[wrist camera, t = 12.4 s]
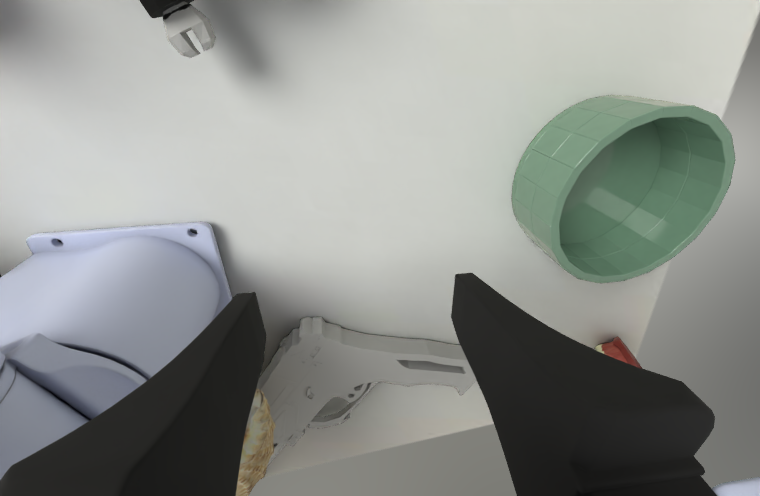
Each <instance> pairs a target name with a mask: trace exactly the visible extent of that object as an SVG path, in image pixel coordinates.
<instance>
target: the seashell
mask: <svg viewBox="0 0 760 496" xmlns="http://www.w3.org/2000/svg"><path fill="white" fill-rule="evenodd" d="M275 427H276V425H275V422H274V421H273V419H272V417H271V415H270V406H269V404H268V403H267V399H266V398H265V396H264V393H263V391H261V390H259V389H258V388H256V392H255V395H254V399H253V403H252V407H251V411H250V414H249V418H248V422H247V427H246V431H245V436H244V442H243V449H242V455H241V461H240V468H239V475H238V482H237V490H236V496H248V495H249V494H250V492H251V490H252V488H253V487H254V486H255V484H256V483H257V482H258V481H259V480H260V479H262V478H263V477H264V476H265V474H266V469H267V465H268V462H269V460H270V457H271V456H272V455H273V454H274V446H273V440H274V434H273V432H274V429H275Z"/></svg>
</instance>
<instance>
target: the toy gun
mask: <svg viewBox="0 0 760 496" xmlns="http://www.w3.org/2000/svg"><path fill="white" fill-rule="evenodd" d="M279 346H281V347H280V348H279V347H278V348H279V349H278V351H277V352H276V354H275V355H274V356H273V358H272V361H271V362H270V364H269V365H268V366H267V368H266V369H265V370H264V372H263V373H262V375H261V376H260V378H259V380H258V384H257V388H258V389H259V390H261V391H263V393H264V396H265V398H266V399H267V403H268V404H269V406H270V415H271V417H272V419H273V421H274V422H275V425H276V427H275V429H274V432H273V434H274V440H273V446H274V454H273V455H272V456H271V457H270V460H269V462H268V465H269V464H270V463H271V462H272V460H273V459H274V458H275V457H276V456H277V454H278V453H279V452H280V451H281V450H282V449H283V447H284V446H285V445H290V446H294V445H295V443H296V442H297V441H298V440H299V439H300V438H301V436H302V435H304V433H305V427H306V426H307V425H308V428H325V427H330V426H334V425H338V424H339V423H341V424H342V423H343V422H345V421H346V420H347V419H349V418H350V412H351V411H352V410H353V409H354V408H355V407H356V406H357V405H358V404H359V403H360V402H361V400H362V399H363V398H364V397H365V396H366V395H367V394H368V393H369V392H370V390H371V389H372V388H373V387H374V386H375V385H376V384H377V383H379V382H386V383H390V384H398V385H403V386H414V385H423V384H436V385H445V386H451V387H454V388H456V389H457V390H458V393H459V395H463V394H464V393H465V392H466V391H467V390H468V389H469V388H470V387H471V385H472V384H473V383H474V382H475V381H476V378H475V375H474V373H473V371H472V369H471V367H470V365H469V363H468V360H467V358H466V356H465V354H464V352H463V350H462V347H461V345H452V344H447V343H442V342H436V341H431V340H426V339H406V338H397V337H388V336H379V335H370V334H364V333H360V332H355V331H351V330H347V329H342V328H341V326H339V325H335V324H330V323H326V322H324V320H323V318H322V317H313V318H310V317H305V318H302V319H300V328H299V329H293V330H292V331H291V333H290V334H289V336H288V335H286V337H285V338H284V339H283V340H282V341H281V343H280V345H279ZM334 397H339V398H343V399H345V400H346V401H347V402H348V403H349V404H348V405H347V406H346V408H344V409H342V410H341V411H339V412H337V413H335V414H331V415H328V416H316V415H317V413H318V412H319V411H320V410H321V409H322V408H323V407H324V405H325V404H326V403H327V402H328V401H330V400H331V399H332V398H334ZM278 443H279V444H278ZM277 444H278V445H277ZM268 465H267V466H268Z"/></svg>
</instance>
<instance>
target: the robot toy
mask: <svg viewBox="0 0 760 496" xmlns="http://www.w3.org/2000/svg"><path fill="white" fill-rule="evenodd" d="M192 1H194V0H140V2H141V3H142V5H143V6H144V8H145V9H146V11H147V12H148V14H149V15H150V16H151V17H152V18H156V17H162V16H163V21H164V26H165V30H166V35H167V39H168V41H169V42H170V43H171V44H172V45H173V46H174V48H175V49H176V50H177V51H178V52H179V53H180V54H181V55H183V56H187V57H191V58H192V57H194V56H196V55H198V54H200V52H199V51H198V50H197V49H196V48H195V46H194V44H193V43H192V41H191V40H190V38H189V37H188V35H187V34H186V32H188V31H189V30H191V29H192V30H193V32H194V33H195V35H196V36H197V38H198V40H199V41H200V43H201V45H202V47H203V50H204V51H205V50H208V49H210V48H212V47H213V45H214V42H215V38H216V37H215V35H214V32H213V29H212V27H211V24H210V21H209V19H208V18H207V17H206V16H204V15H203V14H202V13H201V12H199V11H198V10H197V9H196V8H194V7H193V6H192V5H191V4H189V3H190V2H192Z"/></svg>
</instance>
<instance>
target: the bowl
mask: <svg viewBox="0 0 760 496" xmlns="http://www.w3.org/2000/svg"><path fill="white" fill-rule="evenodd" d="M734 164H735V153H734V147H733V141H732V135H731V133H730V132H729V130H728V129H727V128H726V126H725V125H724V124H723V122H722V121H721V120H720V118H719V117H718V116H717V115H716V114H713V113H711V112H708V111H706V110H703V109H701V108H699V107H696V106H693V105H687V104H680V103H674V102H667V101H660V100H654V99H647V98H641V97H634V96H621V95H606V96H599V97H595V98H591V99H588V100H585V101H583V102H580V103H578V104H576V105H574V106H572V107H570V108H568V109H566V110H565V111H563V112H562V113H561V114H559V115H558V116H556V117H555V118H554V119H553V120H551V121H550V122H549V123H548V124H547V125H546V126H545V127H544V128H543V129H542V130H541V131H540V132H539V133H538V134H537V136H536V137H535V138H534V139H533V141H532V142H531V143H530V145H529V146H528V148H527V150H526V151H525V153H524V155H523V157H522V159H521V161H520V163H519V165H518V168H517V170H516V173H515V177H514V181H513V187H512V205H513V211H514V214H515V217H516V220H517V222H518V224H519V226H520V227H521V228H522V230H523V231H524V232H525V233H526V235H527V236H528V237H529V238H530V239H531V240H532V241H534V242H535V243H536V244H537V245H538V246H539V247H540V248H541V249H542V250H543V251H544V252H545V253H547V254H548V255H549V256H550V257H551V258H552V259H553V260H554V261H555V262H556V263H557V264H558V265H560V266H561V267H562V268H563V269H564V270H566V271H567V272H569V273H570V274H572V275H573V276H575V277H576V278H577V279H581V280H586V281H591V282H595V283H609V282H618V281H625V280H628V279H631V278H634V277H636V276H639V275H642V274H645V273H648V272H650V271H651V270H653V269H655V268H656V267H658V266H660V265H662V264H663V263H665V262H667V261H668V260H670V259H672V258H673V257H675V256H676V255H677V254H678V253H679V252H680V251H682V250H683V249H684V248H685V247H686V246H687V245H689V244H690V243H691V242H692V241H693V240H694V239H695V238H696V237H697V236H698V235H699V234H700V233H701V231H702V230H703V229H704V227H705V226H706V225H707V224H708V222H709V221H710V220H711V218H712V217H713V216H714V215H715V213H716V212H717V210H718V208H719V206H720V204H721V202H722V200H723V198H724V196H725V194H726V192H727V190H728V188H729V186H730V183H731V178H732V173H733V168H734Z"/></svg>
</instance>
